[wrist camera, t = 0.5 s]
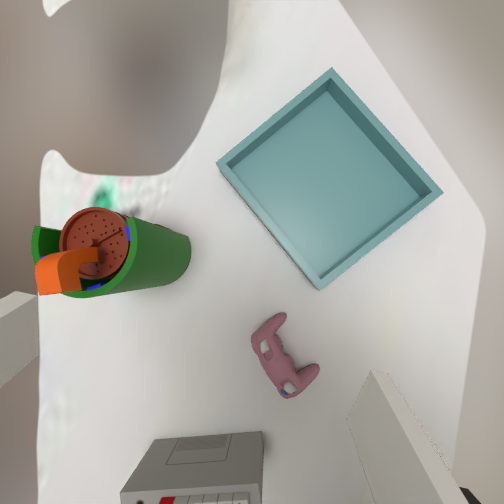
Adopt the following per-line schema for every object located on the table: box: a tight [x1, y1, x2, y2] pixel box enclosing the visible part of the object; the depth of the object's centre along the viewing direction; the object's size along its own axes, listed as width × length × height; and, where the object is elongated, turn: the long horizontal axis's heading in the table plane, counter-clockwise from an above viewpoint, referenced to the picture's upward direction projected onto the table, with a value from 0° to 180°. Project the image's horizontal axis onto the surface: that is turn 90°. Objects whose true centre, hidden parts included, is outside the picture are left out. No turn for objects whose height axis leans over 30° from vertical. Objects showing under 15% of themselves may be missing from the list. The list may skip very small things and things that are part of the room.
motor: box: [32, 207, 191, 298], centre depth 30 cm, size 10×9×20 cm
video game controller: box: [251, 313, 320, 399], centre depth 35 cm, size 10×5×7 cm, turn 32°
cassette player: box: [120, 431, 264, 504], centre depth 33 cm, size 16×3×10 cm, turn 97°
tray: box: [216, 67, 444, 291], centre depth 36 cm, size 22×20×4 cm
